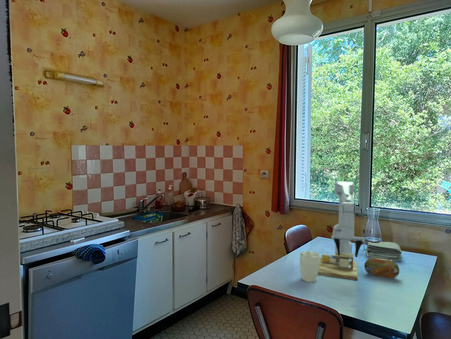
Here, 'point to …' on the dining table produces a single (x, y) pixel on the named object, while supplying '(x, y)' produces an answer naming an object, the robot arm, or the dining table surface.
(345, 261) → the block
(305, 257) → the cup
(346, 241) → the robot arm
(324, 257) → the slider
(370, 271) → the tin
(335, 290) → the dining table surface
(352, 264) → the board tunnel
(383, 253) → the towel
